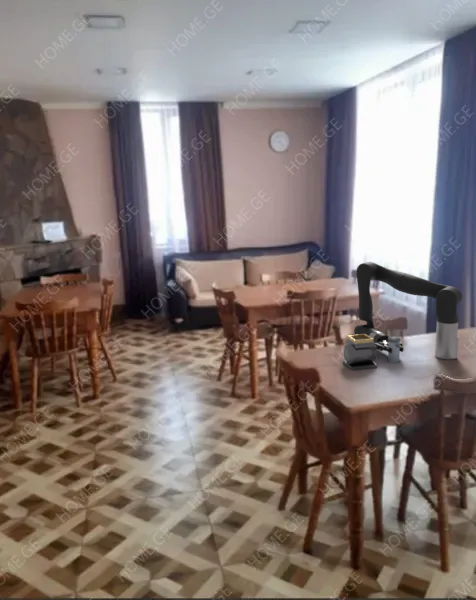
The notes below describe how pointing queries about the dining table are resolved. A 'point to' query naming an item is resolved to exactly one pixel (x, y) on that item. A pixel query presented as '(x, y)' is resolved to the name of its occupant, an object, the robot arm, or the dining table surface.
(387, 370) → the dining table surface
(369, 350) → the motor
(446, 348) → the robot arm
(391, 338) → the pump
